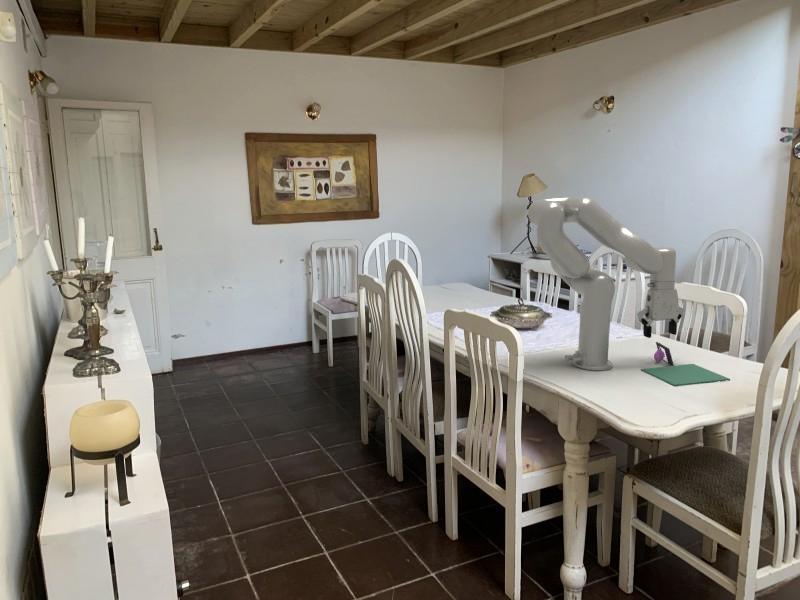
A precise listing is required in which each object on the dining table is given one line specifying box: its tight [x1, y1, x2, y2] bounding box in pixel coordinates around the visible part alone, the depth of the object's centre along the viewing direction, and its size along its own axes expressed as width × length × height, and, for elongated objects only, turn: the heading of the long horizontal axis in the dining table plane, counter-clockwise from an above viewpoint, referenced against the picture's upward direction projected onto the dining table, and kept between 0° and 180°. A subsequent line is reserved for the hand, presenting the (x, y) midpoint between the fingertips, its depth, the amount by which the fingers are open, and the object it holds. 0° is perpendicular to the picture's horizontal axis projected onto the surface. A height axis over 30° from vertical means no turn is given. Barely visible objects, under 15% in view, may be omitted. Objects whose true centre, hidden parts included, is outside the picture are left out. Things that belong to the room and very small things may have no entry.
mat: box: [640, 363, 731, 387], centre depth 189 cm, size 20×16×1 cm
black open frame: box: [653, 341, 675, 366], centre depth 201 cm, size 7×5×9 cm
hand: (659, 335), depth 201 cm, fingers open, 9 cm apart
